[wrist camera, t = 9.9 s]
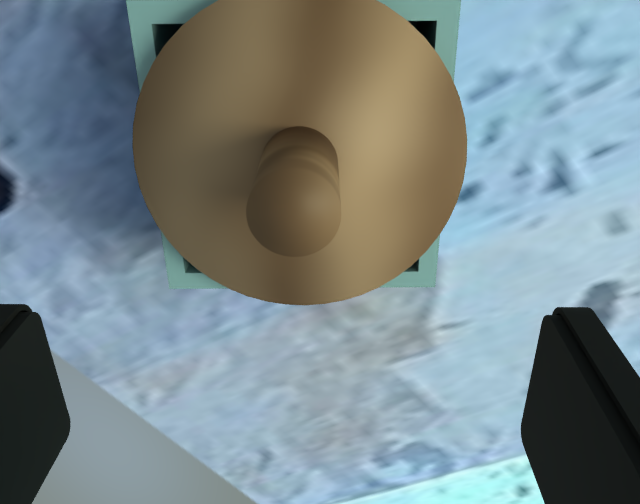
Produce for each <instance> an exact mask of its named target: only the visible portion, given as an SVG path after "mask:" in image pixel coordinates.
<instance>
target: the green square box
mask: <svg viewBox="0 0 640 504" xmlns="http://www.w3.org/2000/svg"><path fill="white" fill-rule="evenodd" d="M216 1H218V0H126V4H127V11H128V17H129V24H130V30H131V37H132V44H133V50H134V57H135V64H136V70H137V77H138V83H139V90H140V92H141V89H142V85H143V82H144V80H145V78H146V76H147V74H148V72H149V70H150V68H151V66H152V64H153V62H154V60H155V59H156V57H157V56H158V54H159V53H160V51H161V50H162V48H163V47H164V46H165V44H166V43H167V42H168V40H169V39H170V38H171V37H172V36H173V35H174V34H175V33H176V32H177V31H178V30H179V29H180V27H181V26H182V25H184V24H185V23H186V22H187V21H188V20H190V19H191V18H192V17H193V16H195V15H196V14H197V13H198V12H200V11H201V10H203V9H204V8H206V7H208V6H209V5H211V4H213V3H214V2H216ZM377 1H379V2H381V3H383V4H385V5H386V6H388V7H389V8H391V9H392V10H393V11H395V12H396V13H398V14H399V15H400V16H402V17H403V18H404V19H406V20H407V21H408V22H409V23H410V24H411V25H412V26H413V27H415V28H416V29H417V30H418V31H419V32H420V33H421V34H422V35H423V36H424V37H425V38H426V40H427V41H428V42H429V43H430V45H431V46H432V47H433V48H434V50H435V51H436V52H437V54H438V55H439V56H440V58H441V60H442V61H443V63H444V65H445V67H446V68H447V70H448V72H449V73H450V75H451V77H452V80H453V82H454V72H455V61H456V50H457V39H458V28H459V17H460V6H461V0H377ZM161 236H162V242H163V249H164V256H165V262H166V269H167V275H168V282H169V289H213V288H227V287H225V286H223V285H221V284H219V283H218V282H216V281H214V280H212V279H211V278H209V277H208V276H206V275H205V274H203V273H202V272H201V271H199V270H198V269H196V268H195V267H194V266H193V265H192V264H191V263H189V262H188V261H187V260H186V259H185V258H184V257H183V256H181V254H180V253H179V252H178V251H177V250H176V249H175V248H174V247H173V246H172V245H171V243H170V242H169V241H168V240H167V238H166V237H165V236H164V234H163V233H162V231H161ZM439 237H440V235H439V236H438V238H437V239H436V240H435V241H434V242H433V244H432V245H431V246H430V247H429V249H428V250H427V251H426V252H425V253H424V254H423V255H422V256H421V257H420V258H419V259H418V260H417V261H416V262H415V263H414V264H413V265H412V266H410V267H409V268H408V269H406V270H405V271H404V272H402V273H401V274H400V275H398V276H397V277H396V278H394V279H392V280H391V281H389V282H387V283H385V284H384V285H382V286H380V287H435V281H436V270H437V259H438V248H439Z"/></svg>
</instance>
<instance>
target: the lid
mask: <svg viewBox="0 0 640 504" xmlns="http://www.w3.org/2000/svg"><path fill="white" fill-rule="evenodd" d="M133 155H134V165H135V170H136V174H137V178H138V183H139V187H140V189H141V192H142V195H143V197H144V200H145V203H146V205H147V207H148V209H149V211H150V213H151V215H152V217H153V219H154V220H155V222H156V224H157V226H158V227H159V229H160V230H161V231H162V233H163V234H164V236H165V237H166V238H167V240H168V241H169V242H170V243H171V245H172V246H173V247H174V248H175V249H176V250H177V251H178V252H179V253H180V254H181V256H183V257H184V258H185V259H186V260H187V261H188V262H189V263H191V264H192V265H193V266H194V267H195V268H196V269H198V270H199V271H201V272H202V273H203V274H205V275H206V276H208V277H209V278H211V279H212V280H214V281H216V282H218V283H219V284H221V285H223V286H225V287H227V288H229V289H231V290H233V291H236V292H239V293H241V294H244V295H246V296H249V297H253V298H256V299H260V300H264V301H268V302H274V303H281V304H290V305H314V304H326V303H331V302H337V301H342V300H346V299H349V298H353V297H356V296H359V295H362V294H364V293H367V292H369V291H371V290H374V289H376V288H378V287H380V286H382V285H384V284H385V283H387V282H389V281H391V280H392V279H394V278H396V277H397V276H398V275H400V274H401V273H402V272H404V271H405V270H406V269H408V268H409V267H410V266H412V265H413V264H414V263H415V262H416V261H417V260H418V259H419V258H420V257H421V256H422V255H423V254H424V253H425V252H426V251H427V250H428V249H429V247H430V246H431V245H432V244H433V242H434V241H435V240H436V239H437V238H438V236H439V235H440V233H441V231H442V230H443V228H444V226H445V225H446V223H447V222H448V220H449V218H450V216H451V214H452V211H453V209H454V207H455V205H456V203H457V200H458V197H459V193H460V190H461V187H462V184H463V179H464V173H465V167H466V160H467V134H466V125H465V117H464V113H463V109H462V105H461V101H460V97H459V95H458V92H457V90H456V87H455V85H454V82H453V80H452V77H451V75H450V73H449V72H448V70H447V68H446V67H445V65H444V63H443V61H442V60H441V58H440V56H439V55H438V54H437V52H436V51H435V50H434V48H433V47H432V46H431V45H430V43H429V42H428V41H427V40H426V38H425V37H424V36H423V35H422V34H421V33H420V32H419V31H418V30H417V29H416V28H415V27H413V26H412V25H411V24H410V23H409V22H408V21H407V20H406V19H404V18H403V17H402V16H400V15H399V14H398V13H396V12H395V11H393V10H392V9H391V8H389V7H388V6H386V5H385V4H383V3H381V2H379V1H377V0H218V1H216V2H214V3H213V4H211V5H209V6H208V7H206V8H204V9H203V10H201V11H200V12H198V13H197V14H196V15H195V16H193V17H192V18H191V19H190V20H188V21H187V22H186V23H185V24H184V25H182V26H181V27H180V29H179V30H178V31H177V32H176V33H175V34H174V35H173V36H172V37H171V38H170V39H169V40H168V42H167V43H166V44H165V46H164V47H163V48H162V50H161V51H160V53H159V54H158V56H157V57H156V59H155V60H154V62H153V64H152V66H151V68H150V70H149V72H148V74H147V76H146V78H145V80H144V82H143V85H142V89H141V92H140V95H139V98H138V101H137V105H136V111H135V117H134V123H133Z"/></svg>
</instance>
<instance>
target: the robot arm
mask: <svg viewBox="0 0 640 504" xmlns="http://www.w3.org/2000/svg"><path fill="white" fill-rule="evenodd" d="M69 432H70V417H69V413H68V410H67V407H66V403H65V400H64V396H63V393H62V389H61V386H60V382H59V379H58V375H57V372H56V369H55V365H54V362H53V358H52V355H51V351H50V348H49V344H48V341H47V337H46V334H45V330H44V327H43V323H42V320H41V317H40V315H39V314H38V313H36V312H32V310H31V308H30V307H29V306H27V305H25V304H0V504H32V502H33V500H34V498H35V496H36V495H37V493H38V491H39V489H40V487H41V485H42V484H43V482H44V480H45V478H46V476H47V474H48V473H49V471H50V469H51V467H52V465H53V464H54V462H55V460H56V458H57V456H58V455H59V452H60V450H61V449H62V447H63V445H64V443H65V442H66V440H67V438H68V435H69ZM521 437H522V442H523V446H524V448H525V451H526V454H527V457H528V459H529V462H530V465H531V467H532V470H533V473H534V476H535V478H536V481H537V484H538V486H539V489H540V492H541V495H542V497H543V500H544V503H545V504H640V377H639V376H638V374H637V373H636V372H635V370H634V369H633V367H632V366H631V364H630V363H629V361H628V360H627V359H626V357H625V356H624V354H623V353H622V351H621V350H620V349H619V347H618V346H617V344H616V343H615V341H614V340H613V338H612V337H611V336H610V334H609V333H608V331H607V330H606V328H605V327H604V326H603V324H602V323H601V321H600V320H599V318H598V317H597V315H596V314H595V313H594V311H593V310H592V309H591V308H588V307H557V308H556V309H555V310H554V311H553V314H552V315H546V316H544V318H543V321H542V324H541V329H540V334H539V339H538V344H537V349H536V354H535V359H534V364H533V369H532V374H531V379H530V383H529V388H528V393H527V398H526V403H525V408H524V413H523V418H522V423H521Z"/></svg>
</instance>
